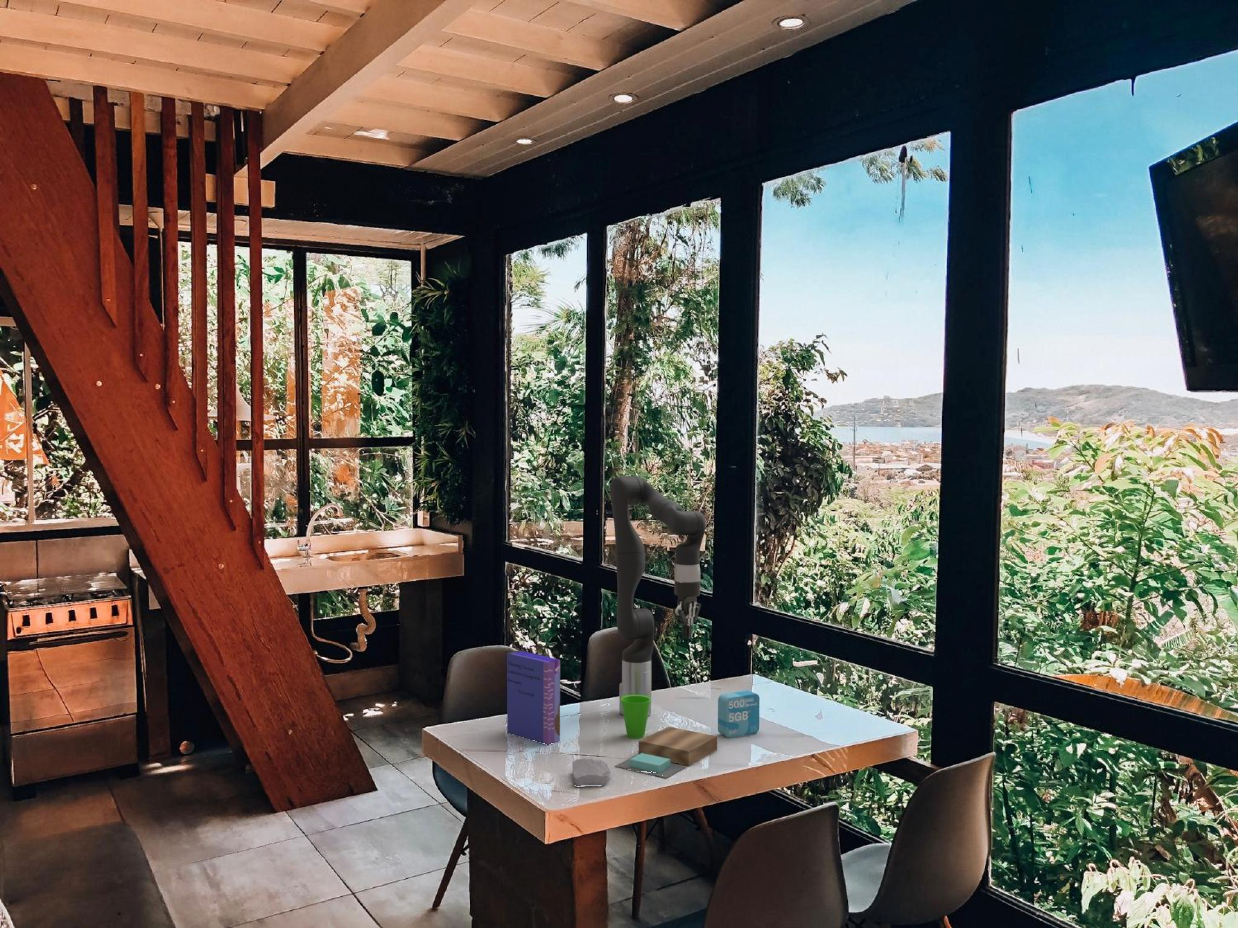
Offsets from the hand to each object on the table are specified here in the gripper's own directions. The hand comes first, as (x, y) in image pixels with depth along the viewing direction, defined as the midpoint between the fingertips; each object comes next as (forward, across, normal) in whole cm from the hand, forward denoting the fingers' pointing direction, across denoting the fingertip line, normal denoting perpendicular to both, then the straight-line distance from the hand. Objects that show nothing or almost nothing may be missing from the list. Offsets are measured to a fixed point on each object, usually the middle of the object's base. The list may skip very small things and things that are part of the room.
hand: (686, 637), depth 290 cm
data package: (+29, -10, +12) cm, 33 cm away
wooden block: (+29, +15, +6) cm, 33 cm away
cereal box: (+29, +27, -36) cm, 54 cm away
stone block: (+29, +46, -1) cm, 54 cm away
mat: (+29, +30, +6) cm, 42 cm away
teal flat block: (+26, +30, +6) cm, 40 cm away
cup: (+29, +9, -12) cm, 33 cm away
